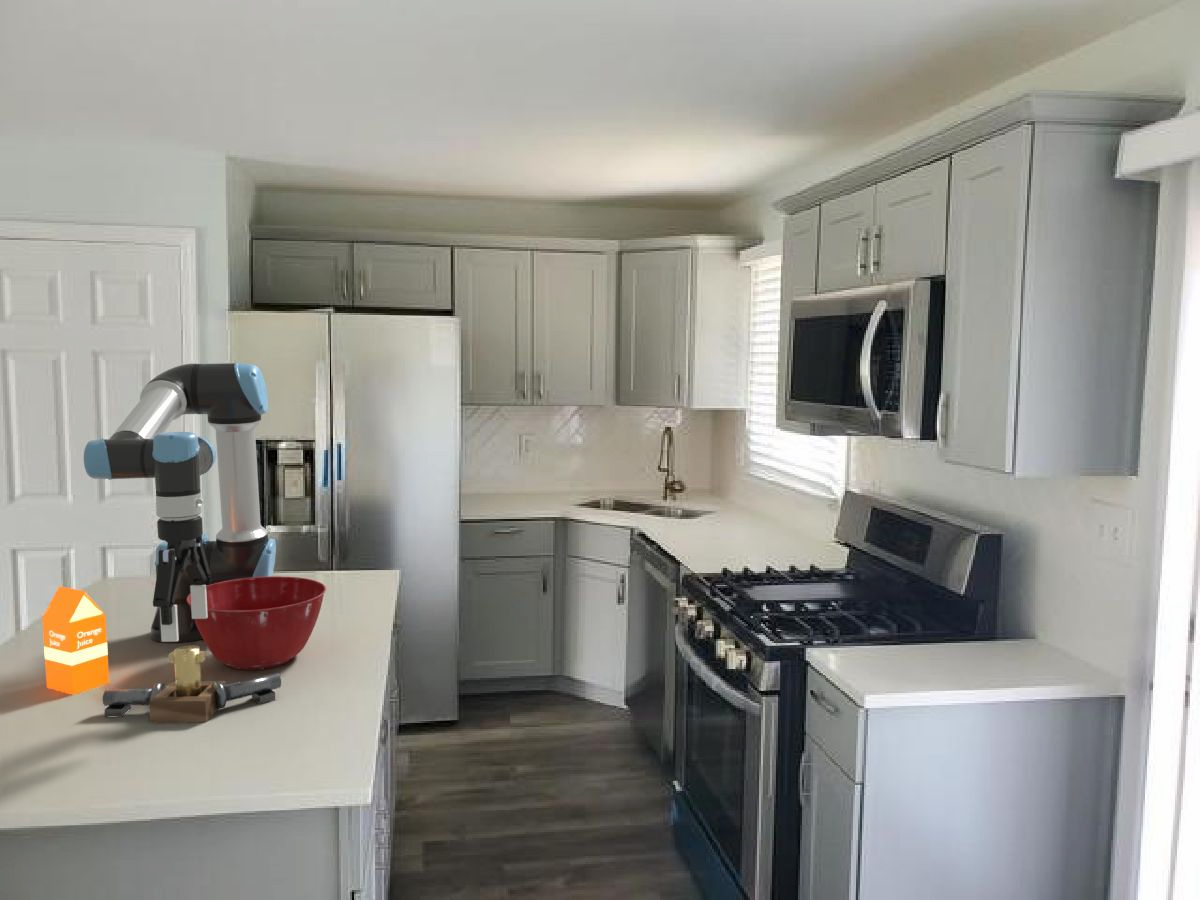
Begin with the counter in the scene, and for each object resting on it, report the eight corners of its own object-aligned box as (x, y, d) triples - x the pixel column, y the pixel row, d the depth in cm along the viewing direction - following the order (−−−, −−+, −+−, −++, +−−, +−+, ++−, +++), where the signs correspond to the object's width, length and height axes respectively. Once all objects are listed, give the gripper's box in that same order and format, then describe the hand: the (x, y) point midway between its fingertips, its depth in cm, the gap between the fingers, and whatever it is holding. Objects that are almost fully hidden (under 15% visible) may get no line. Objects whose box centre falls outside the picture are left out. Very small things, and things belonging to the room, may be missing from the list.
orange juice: (83, 675, 190) (77, 582, 188) (110, 682, 186) (104, 587, 184) (45, 687, 183) (39, 590, 181) (72, 695, 179) (66, 596, 177)
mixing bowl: (350, 643, 211) (348, 578, 209) (284, 687, 183) (281, 613, 181) (241, 636, 217) (238, 572, 215) (160, 677, 189) (156, 605, 187)
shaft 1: (167, 707, 173) (166, 679, 173) (156, 717, 168) (154, 688, 168) (114, 707, 173) (112, 679, 172) (100, 718, 168) (99, 689, 167)
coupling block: (173, 702, 176) (172, 681, 175) (226, 701, 176) (225, 681, 176) (150, 722, 166) (149, 701, 165) (206, 721, 166) (205, 700, 166)
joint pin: (178, 706, 173) (175, 645, 172) (210, 706, 173) (207, 645, 172) (168, 715, 169) (165, 653, 168) (201, 715, 169) (198, 652, 168)
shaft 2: (221, 714, 169) (220, 686, 169) (211, 707, 173) (210, 679, 172) (284, 698, 177) (282, 671, 177) (273, 691, 181) (272, 664, 180)
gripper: (172, 530, 155) (178, 651, 157) (225, 504, 179) (230, 609, 182) (126, 530, 154) (134, 651, 157) (186, 504, 179) (191, 609, 182)
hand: (185, 629), depth 169 cm, fingers open, 13 cm apart
